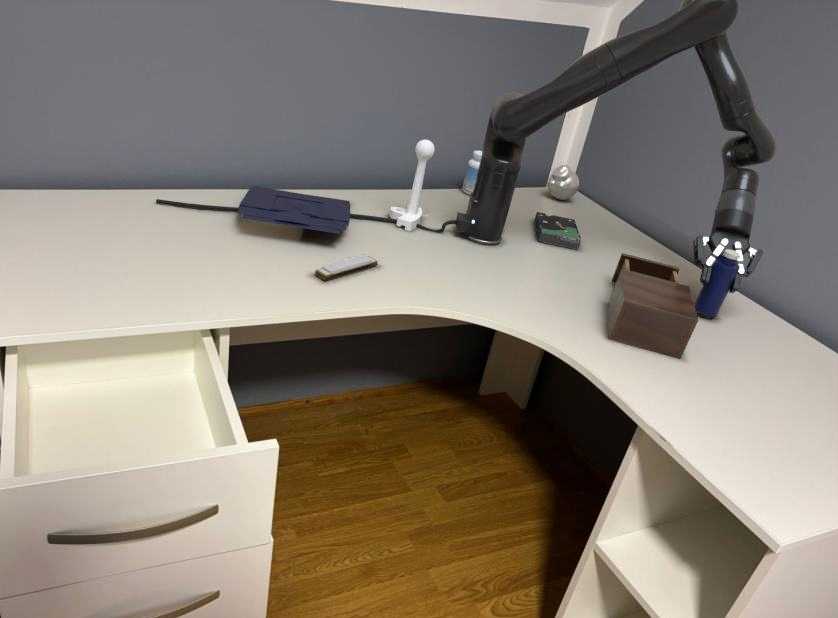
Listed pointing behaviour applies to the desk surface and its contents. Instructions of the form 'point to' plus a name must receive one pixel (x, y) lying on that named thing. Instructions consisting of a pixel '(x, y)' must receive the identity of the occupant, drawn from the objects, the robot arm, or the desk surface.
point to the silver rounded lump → (563, 183)
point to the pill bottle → (472, 172)
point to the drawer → (646, 268)
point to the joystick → (414, 189)
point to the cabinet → (651, 313)
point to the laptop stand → (295, 209)
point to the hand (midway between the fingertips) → (719, 287)
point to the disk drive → (557, 230)
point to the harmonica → (345, 267)
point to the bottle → (718, 284)
